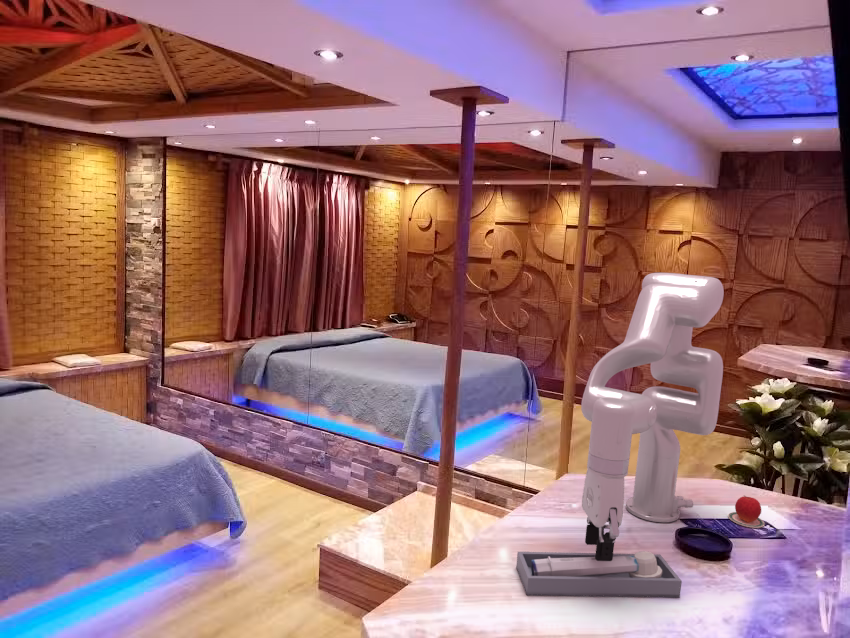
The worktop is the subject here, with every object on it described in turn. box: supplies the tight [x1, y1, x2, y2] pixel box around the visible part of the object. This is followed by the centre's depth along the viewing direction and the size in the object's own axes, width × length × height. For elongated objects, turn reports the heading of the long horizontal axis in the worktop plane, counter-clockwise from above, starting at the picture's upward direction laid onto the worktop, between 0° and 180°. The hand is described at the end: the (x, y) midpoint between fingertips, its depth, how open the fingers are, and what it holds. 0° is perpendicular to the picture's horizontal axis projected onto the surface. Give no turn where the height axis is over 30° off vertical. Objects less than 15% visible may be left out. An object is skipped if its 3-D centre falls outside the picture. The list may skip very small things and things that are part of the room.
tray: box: [515, 551, 683, 599], centre depth 125 cm, size 30×10×4 cm, turn 94°
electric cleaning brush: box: [531, 550, 662, 578], centre depth 124 cm, size 5×7×25 cm
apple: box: [727, 495, 765, 529], centre depth 156 cm, size 8×8×6 cm
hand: (598, 551), depth 124 cm, fingers open, 5 cm apart
